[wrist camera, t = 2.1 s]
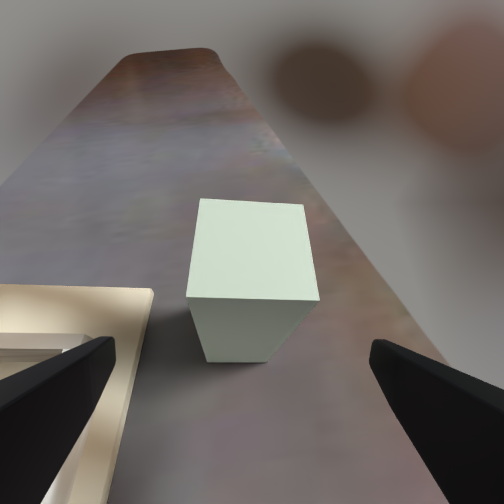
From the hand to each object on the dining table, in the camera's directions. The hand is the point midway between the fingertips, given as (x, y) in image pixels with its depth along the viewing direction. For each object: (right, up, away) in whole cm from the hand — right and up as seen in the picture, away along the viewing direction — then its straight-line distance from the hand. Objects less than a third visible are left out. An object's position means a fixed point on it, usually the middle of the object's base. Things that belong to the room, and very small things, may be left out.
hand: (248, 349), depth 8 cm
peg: (-1, -3, +11) cm, 11 cm away
